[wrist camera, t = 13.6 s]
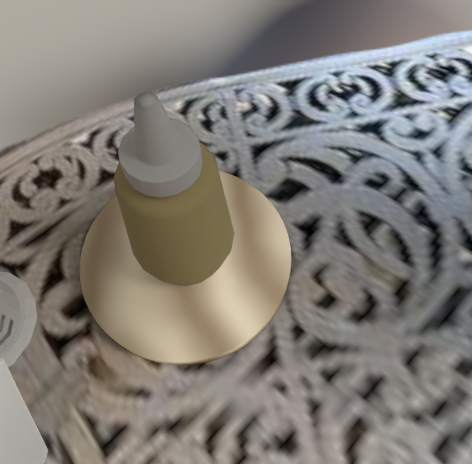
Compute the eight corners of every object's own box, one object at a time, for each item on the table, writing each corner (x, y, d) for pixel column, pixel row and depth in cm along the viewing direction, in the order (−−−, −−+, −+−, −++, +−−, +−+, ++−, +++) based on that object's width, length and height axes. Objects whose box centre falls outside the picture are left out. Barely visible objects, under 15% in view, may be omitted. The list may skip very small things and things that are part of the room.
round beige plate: (249, 156, 44) (250, 114, 38) (322, 322, 36) (336, 299, 30) (70, 207, 41) (45, 169, 36) (106, 397, 33) (80, 386, 28)
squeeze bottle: (213, 200, 40) (193, 26, 24) (250, 276, 36) (257, 132, 20) (128, 233, 38) (45, 72, 22) (159, 315, 35) (87, 194, 19)
